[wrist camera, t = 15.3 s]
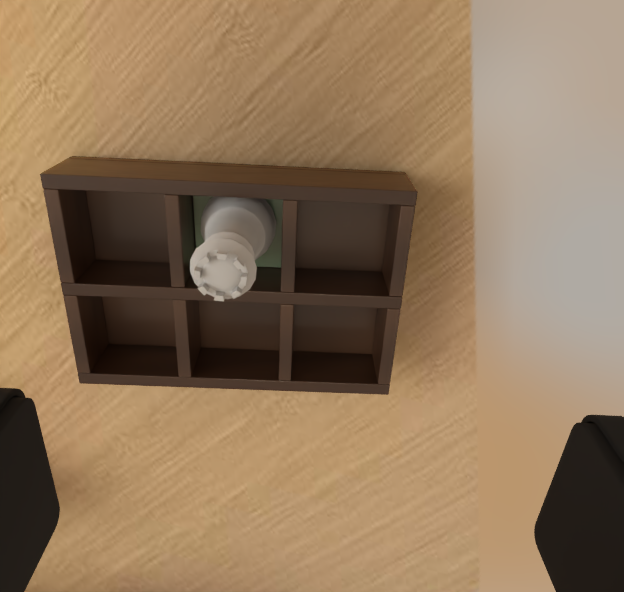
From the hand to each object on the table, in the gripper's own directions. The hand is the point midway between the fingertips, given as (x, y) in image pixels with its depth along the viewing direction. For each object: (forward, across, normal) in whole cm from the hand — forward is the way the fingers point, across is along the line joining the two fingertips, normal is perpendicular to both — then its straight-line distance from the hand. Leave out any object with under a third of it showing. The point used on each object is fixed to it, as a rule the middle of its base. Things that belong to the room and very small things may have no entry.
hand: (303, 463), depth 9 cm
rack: (+24, +4, +8) cm, 26 cm away
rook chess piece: (+24, +4, +4) cm, 24 cm away
